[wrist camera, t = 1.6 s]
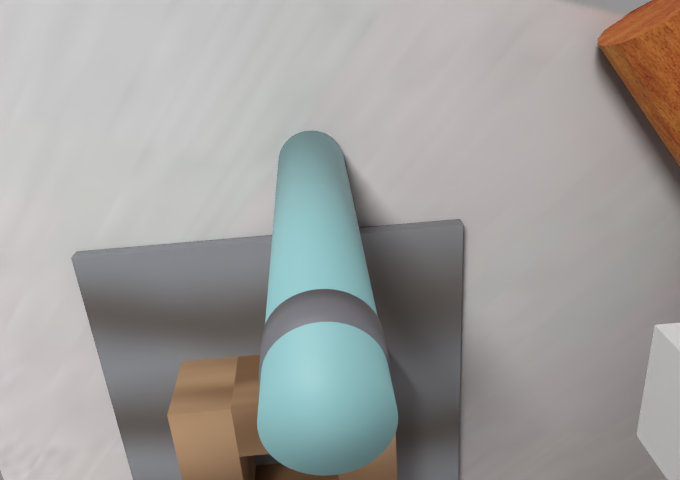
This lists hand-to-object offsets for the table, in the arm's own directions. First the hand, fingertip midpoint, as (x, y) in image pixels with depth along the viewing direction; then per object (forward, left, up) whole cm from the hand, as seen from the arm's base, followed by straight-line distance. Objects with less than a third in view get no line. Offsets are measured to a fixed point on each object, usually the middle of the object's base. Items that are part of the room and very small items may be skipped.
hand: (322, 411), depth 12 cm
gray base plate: (+13, -2, -14) cm, 19 cm away
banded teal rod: (0, 0, -14) cm, 14 cm away
